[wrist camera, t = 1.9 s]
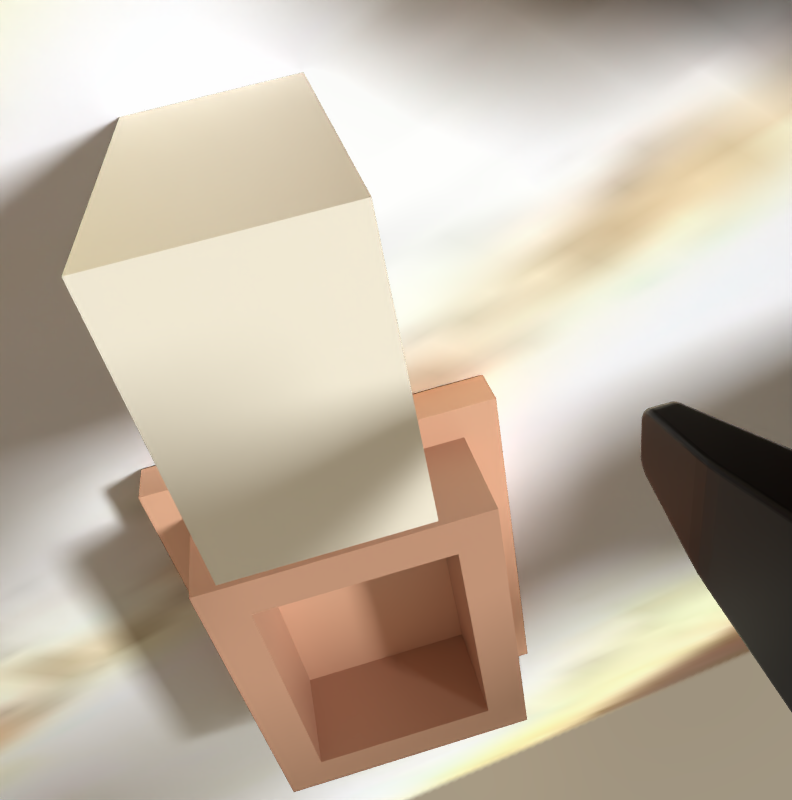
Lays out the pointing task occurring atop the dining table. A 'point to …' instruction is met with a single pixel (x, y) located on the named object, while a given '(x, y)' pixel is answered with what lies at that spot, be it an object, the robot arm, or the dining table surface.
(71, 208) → the dining table surface
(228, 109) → the plug
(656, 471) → the robot arm
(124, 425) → the dining table surface
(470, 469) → the dock
